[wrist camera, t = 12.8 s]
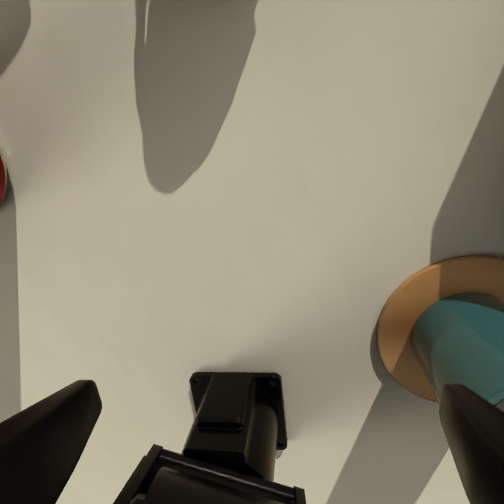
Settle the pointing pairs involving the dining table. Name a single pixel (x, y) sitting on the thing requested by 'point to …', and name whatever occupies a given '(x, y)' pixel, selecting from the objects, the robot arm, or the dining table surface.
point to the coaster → (418, 300)
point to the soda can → (2, 178)
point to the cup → (463, 344)
